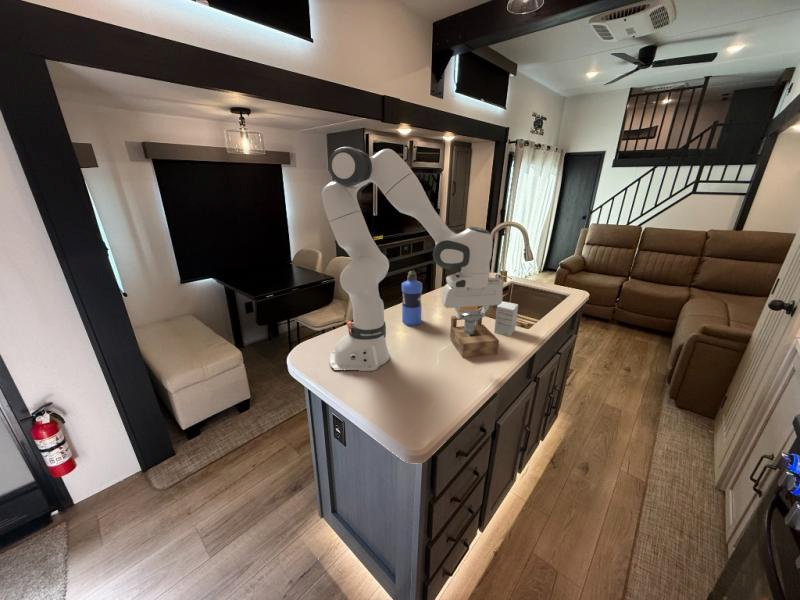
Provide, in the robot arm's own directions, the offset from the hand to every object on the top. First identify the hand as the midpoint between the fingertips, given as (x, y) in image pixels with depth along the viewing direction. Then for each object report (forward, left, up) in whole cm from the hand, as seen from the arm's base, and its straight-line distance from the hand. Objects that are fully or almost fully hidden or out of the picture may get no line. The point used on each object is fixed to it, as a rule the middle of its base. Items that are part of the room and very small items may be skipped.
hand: (470, 317), depth 105 cm
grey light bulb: (0, 0, -6) cm, 6 cm away
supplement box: (+26, +22, -19) cm, 39 cm away
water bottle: (-12, +40, -19) cm, 46 cm away
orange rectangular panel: (+7, +19, -5) cm, 21 cm away
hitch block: (+7, +13, -19) cm, 24 cm away
